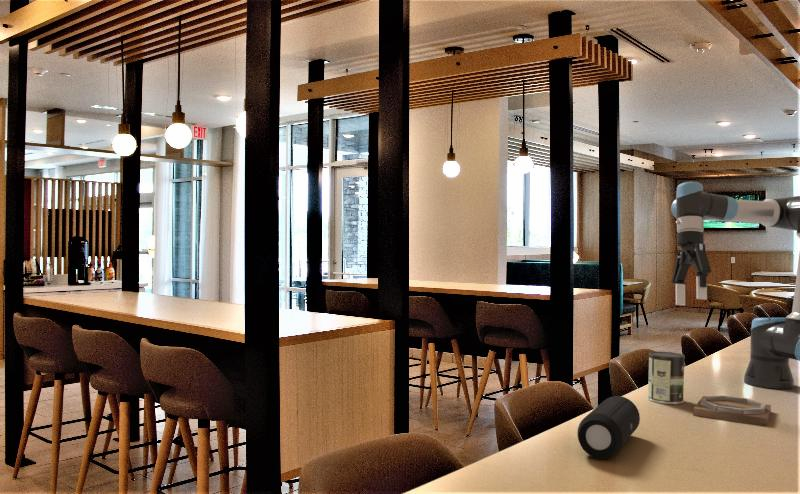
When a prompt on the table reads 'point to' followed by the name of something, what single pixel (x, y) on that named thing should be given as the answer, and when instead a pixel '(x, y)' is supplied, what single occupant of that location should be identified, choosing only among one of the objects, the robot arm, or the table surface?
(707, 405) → the collar board
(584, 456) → the table surface
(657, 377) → the coffee can
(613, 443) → the portable speaker
